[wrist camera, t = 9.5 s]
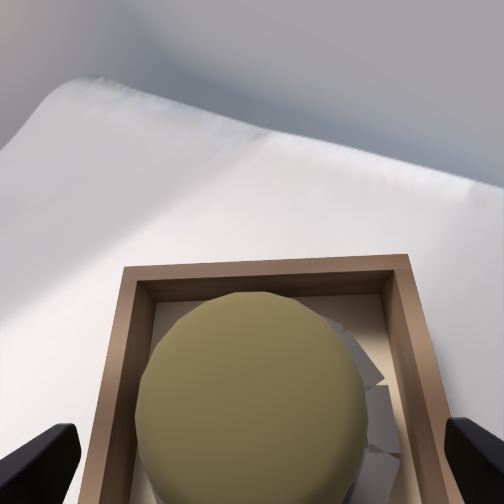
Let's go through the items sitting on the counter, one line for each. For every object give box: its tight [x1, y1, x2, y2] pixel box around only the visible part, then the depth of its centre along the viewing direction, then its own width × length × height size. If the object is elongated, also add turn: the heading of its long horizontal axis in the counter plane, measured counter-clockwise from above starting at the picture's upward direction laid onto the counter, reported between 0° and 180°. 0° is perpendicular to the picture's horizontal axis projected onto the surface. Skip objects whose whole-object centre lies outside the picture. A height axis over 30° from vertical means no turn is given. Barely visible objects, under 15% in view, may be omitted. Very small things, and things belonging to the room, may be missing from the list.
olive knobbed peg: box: [135, 292, 369, 504], centre depth 11 cm, size 6×6×11 cm
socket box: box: [78, 254, 464, 504], centre depth 15 cm, size 14×14×4 cm
